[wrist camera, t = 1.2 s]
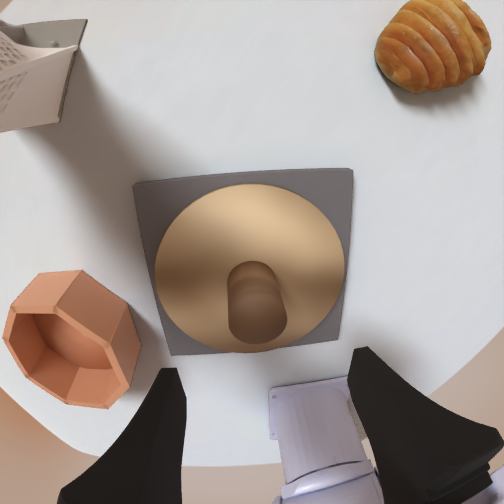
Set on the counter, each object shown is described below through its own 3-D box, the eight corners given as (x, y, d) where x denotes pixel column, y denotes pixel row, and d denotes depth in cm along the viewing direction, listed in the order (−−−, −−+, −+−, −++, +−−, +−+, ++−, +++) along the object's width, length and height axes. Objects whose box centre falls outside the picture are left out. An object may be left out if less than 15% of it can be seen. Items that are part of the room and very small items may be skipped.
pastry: (405, 118, 17) (439, 121, 13) (346, 33, 14) (372, 18, 11) (475, 63, 15) (509, 62, 11) (429, -10, 12) (459, -23, 9)
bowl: (150, 370, 24) (142, 411, 20) (57, 366, 23) (41, 400, 19) (117, 267, 19) (95, 304, 15) (14, 274, 19) (-15, 304, 15)
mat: (334, 333, 23) (337, 339, 23) (172, 348, 23) (170, 355, 22) (348, 168, 18) (353, 170, 17) (136, 183, 17) (132, 186, 16)
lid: (332, 335, 22) (352, 380, 18) (176, 350, 22) (168, 399, 17) (345, 178, 17) (382, 200, 13) (141, 193, 17) (114, 221, 12)
